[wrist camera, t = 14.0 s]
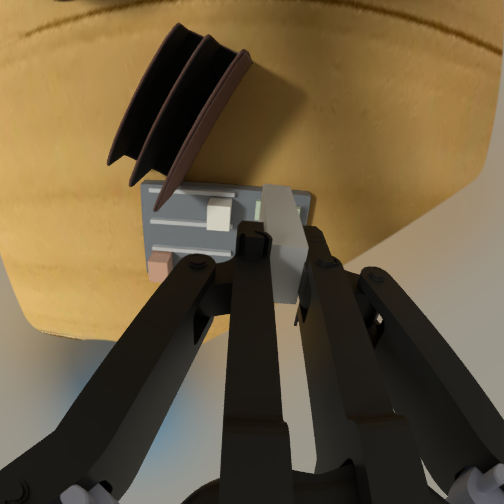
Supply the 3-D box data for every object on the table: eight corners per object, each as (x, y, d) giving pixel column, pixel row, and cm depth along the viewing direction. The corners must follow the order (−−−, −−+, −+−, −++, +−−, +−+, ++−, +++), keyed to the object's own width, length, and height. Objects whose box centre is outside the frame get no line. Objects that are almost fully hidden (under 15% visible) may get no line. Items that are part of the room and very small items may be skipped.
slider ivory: (209, 219, 45) (206, 229, 43) (210, 196, 44) (207, 205, 41) (230, 221, 45) (229, 231, 43) (232, 198, 44) (230, 207, 41)
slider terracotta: (154, 269, 50) (149, 281, 47) (153, 250, 48) (147, 261, 45) (172, 271, 50) (168, 282, 47) (171, 252, 48) (167, 263, 45)
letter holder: (253, 61, 37) (252, 50, 24) (183, 182, 45) (155, 222, 33) (188, 29, 34) (158, 8, 22) (124, 151, 43) (78, 182, 30)
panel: (150, 266, 52) (142, 281, 48) (144, 179, 45) (134, 189, 41) (294, 277, 53) (296, 294, 49) (308, 191, 45) (314, 202, 42)
